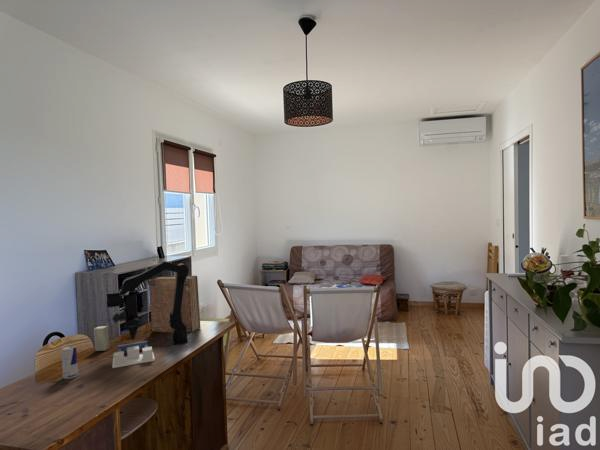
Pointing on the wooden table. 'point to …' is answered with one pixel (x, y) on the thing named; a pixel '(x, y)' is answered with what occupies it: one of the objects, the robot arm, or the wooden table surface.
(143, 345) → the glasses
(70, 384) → the wooden table surface
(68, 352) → the energy drink
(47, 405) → the wooden table surface
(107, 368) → the wooden table surface
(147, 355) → the display stand
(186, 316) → the book
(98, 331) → the box
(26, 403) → the wooden table surface
